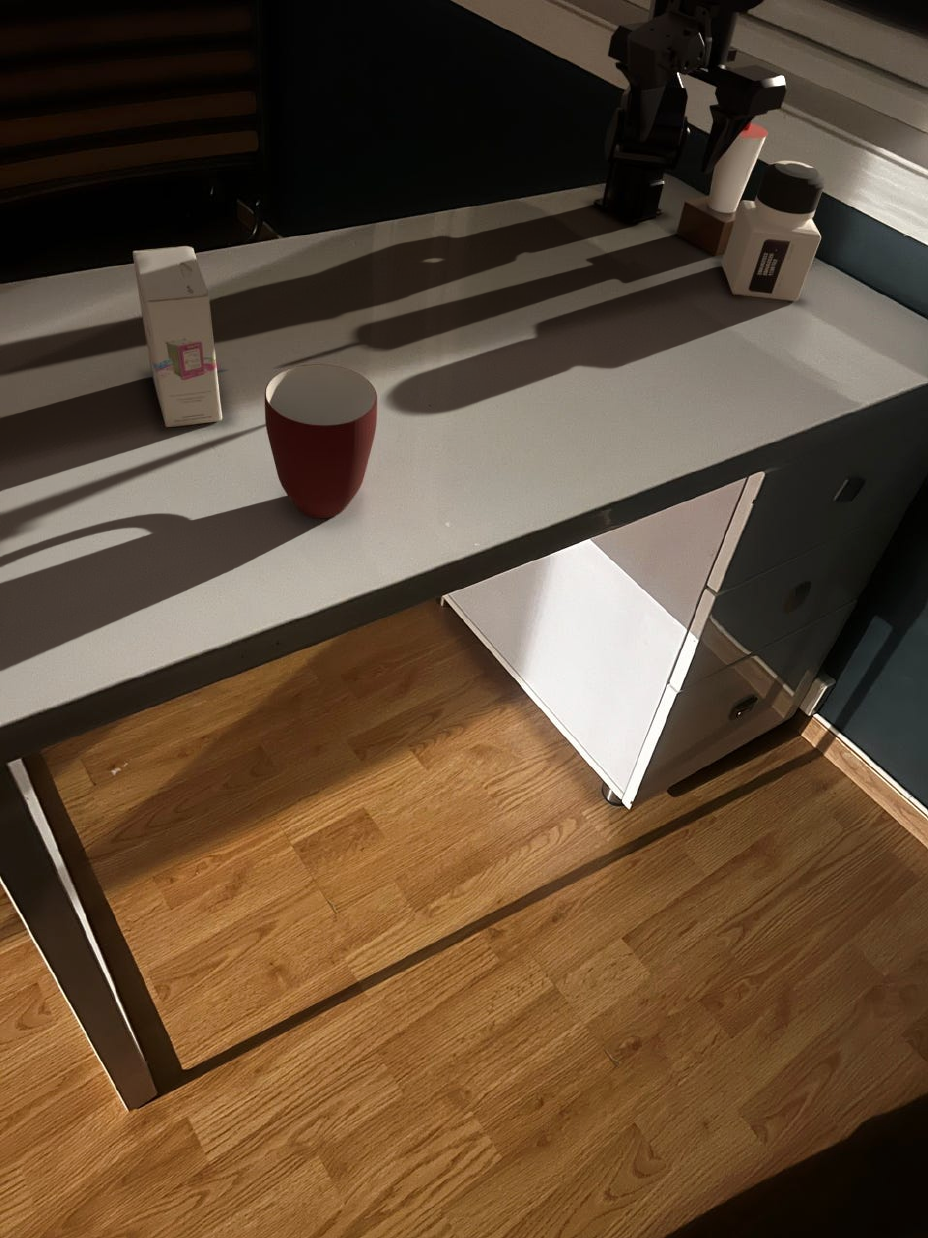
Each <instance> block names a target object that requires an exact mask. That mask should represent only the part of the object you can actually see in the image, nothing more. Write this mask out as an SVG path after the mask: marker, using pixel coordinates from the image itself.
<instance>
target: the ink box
mask: <svg viewBox="0 0 928 1238" xmlns="http://www.w3.org/2000/svg"><path fill="white" fill-rule="evenodd" d="M132 257H133V266H134V273H135V279H136V284H137V292H138V297H139V303H140V310H141V315H142V322H143V329H144V334H145V341H146V347H147V353H148V354H147V355H148V359H149V364H150V370H151V377H152V381H153V384H154V389H155V392H156V395H157V399H158V403H159V406H160V408H161V409H160V410H161V413H162V417H163V421H164V426H165V427H166V428H172V427H182V426H191V425H199V424H205V423H206V424H207V423H213V422H220V421H222V419H223V414H222V413H223V412H222V405H221V397H220V388H219V387H220V386H219V378H218V367H217V359H216V349H215V342H214V341H215V340H214V331H213V323H212V313H211V303H210V294H209V291H208V288H207V285H206V282H205V280H204V277H203V274H202V270H201V268H200V265H199V262H198V259H197V257H196V253H195V250H194V248H193V247H192V246H188V245H183V246H182V245H181V246H171V247H170V246H169V247H162V248H161V247H160V248H150V249H149V248H148V249H140V250H133V251H132Z"/></svg>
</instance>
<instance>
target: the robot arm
mask: <svg viewBox="0 0 928 1238" xmlns="http://www.w3.org/2000/svg"><path fill="white" fill-rule="evenodd" d="M764 1H765V0H650V3H649V4H650V6H649V10H648V16H647V21H643V22H636V23H627V24H619V25H618V27H617V28H616V29H615V31H614V32H613V33H612V35H611V36H610V40H609V46H608V50H607V57H609V58H611V59H613V60H616V62H614V65H615V68H616V69H617V70H618V71H620V72H621V73H622V75H623V76H624V78H625V79H626V80H627V83H628V84H629V85H628V86H627V87H626V89H625V90H624V92H623V93H622V96H621V100H620V105H619V107H616V109H615V111H614V113H613V115H612V118H611V120H610V122H609V125H608V127H607V130H606V135H605V140H604V148H603V150H604V155H605V160H606V163H607V164H609V167H608V172H607V176H606V181H605V187H604V191H603V196H602V197H600V198H596V199H594V201H593V205H594V206H596V207H598V208H599V209H601V210H603V211H604V212H606V213H608V214H610V215H612V216H613V217H615V218H617V219H619V220H621V221H622V222H624V223H626V224H633V223H637V222H640V221H644V220H647V219H652V218H655V217H658V216H662V215H663V211H664V210H662V209H661V208H660V207H659V205H660V202H661V198H662V193H663V190H664V185H665V181H664V180H663V179H664V175H665V171H666V170H670V171H676V167H678V166H679V164H680V163H679V162H680V159H681V156H682V154H683V150H684V148H685V145H686V143H687V141H688V139H689V137H690V134H691V130H690V128H689V117H688V115H686V111H687V103H688V99H689V94H688V91H687V87H684V86H683V82H682V79H681V77H680V74H681V75H682V76H689V77H691V78H694V79H696V80H699V81H701V82H703V83H705V84H708V85H710V86H712V87H715V92H714V95H715V98H716V101H717V103H716V104H711V105H709V106H708V108H709V111H710V115H711V119H712V124H711V127H710V131H709V135H708V138H707V142H706V146H705V148H704V149H705V150H704V153H703V157H702V163H701V169H700V173H701V174H703V175H707V174H710V173H711V172H712V171H713V170H714V167H715V165H716V164H717V163H718V161H719V160H720V159H721V157H722V156H723V155H724V153H725V152H726V151H727V149H728V148H729V147H730V146H731V144H732V143H733V141H734V140H735V139H736V138H737V137H738V135H739V134H740V133H741V132H742V131H743V130H744V129H745V127H746V126H747V125H748V124H749V123H750V122H751V121H752V122H753V120H754V119H755V118H756V117H759V116H762V115H763V116H764V115H767V114H768V112H770V111H776V110H780V109H782V106H783V103H784V99H785V97H786V93H787V83H786V79H785V76H784V75H783V74H780V73H779V72H778V73H777V72H775V71H773V70H770V69H767V68H765V67H762V66H760V65H757V64H753V65H745V66H742V67H734V68H731V67H729V66H726V64H727V63H731V62H735V60H736V57H737V53H738V49H737V48H735V47H733V46H731V44H732V42H733V37H734V33H735V30H736V26H737V22H738V19H739V15H744V14H748V13H749V11H751V10H753V9H755V8H756V7H758V6H759V5H761V4H762V3H763V2H764ZM706 70H707V71H706ZM752 122H751V123H752Z"/></svg>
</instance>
